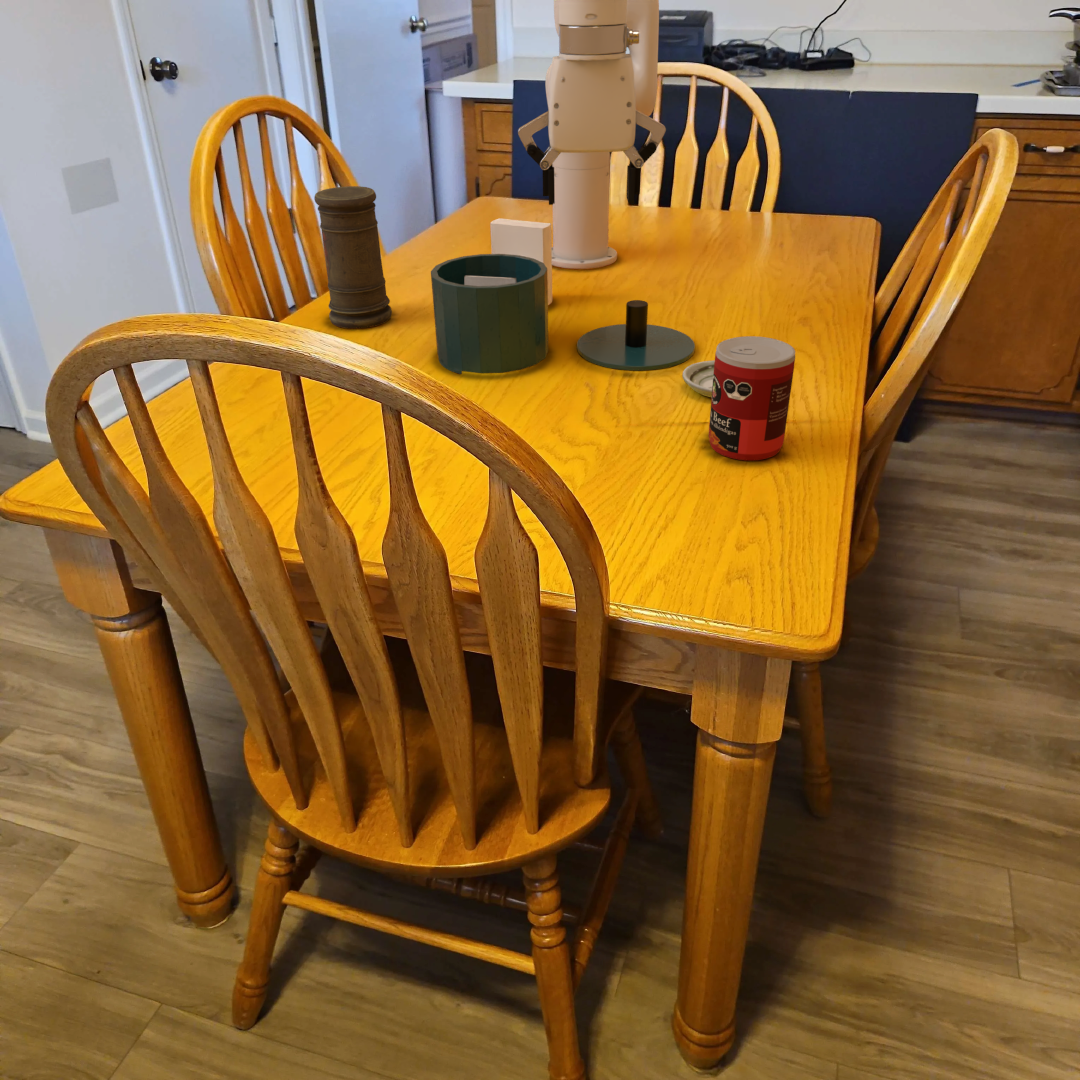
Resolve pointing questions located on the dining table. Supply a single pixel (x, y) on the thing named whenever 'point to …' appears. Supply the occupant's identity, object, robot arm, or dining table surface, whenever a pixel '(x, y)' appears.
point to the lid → (636, 343)
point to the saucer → (700, 377)
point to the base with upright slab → (524, 242)
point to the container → (353, 257)
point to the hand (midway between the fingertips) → (590, 201)
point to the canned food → (750, 397)
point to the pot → (490, 314)
